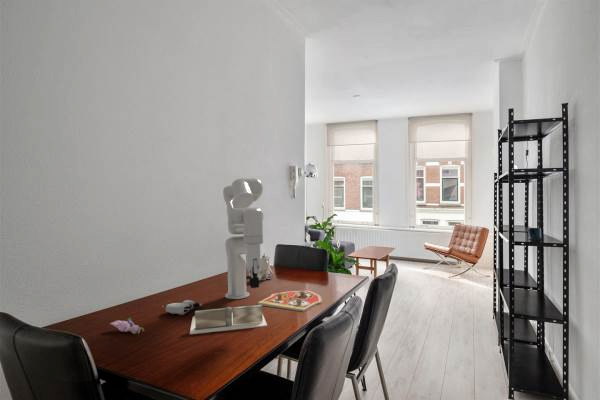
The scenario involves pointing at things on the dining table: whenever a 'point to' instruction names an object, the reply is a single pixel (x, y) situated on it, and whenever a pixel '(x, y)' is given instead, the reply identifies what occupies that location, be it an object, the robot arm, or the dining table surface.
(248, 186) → the robot arm
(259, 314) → the fence panel
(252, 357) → the dining table surface
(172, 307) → the robot toy
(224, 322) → the fence base
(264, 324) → the card
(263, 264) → the chinaware
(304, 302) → the knob puzzle
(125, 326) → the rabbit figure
